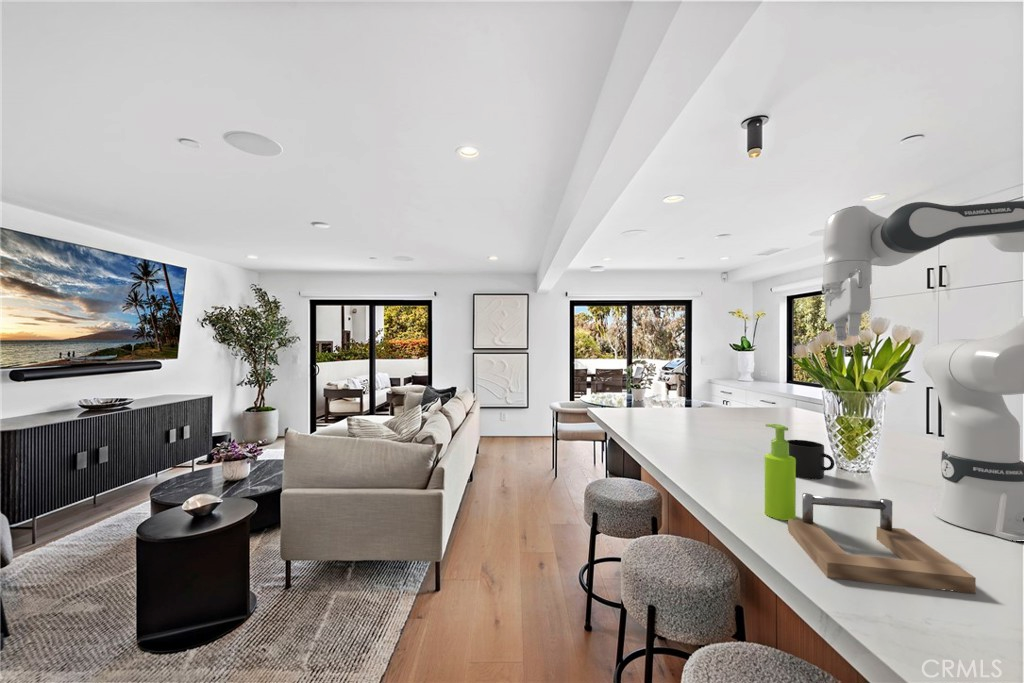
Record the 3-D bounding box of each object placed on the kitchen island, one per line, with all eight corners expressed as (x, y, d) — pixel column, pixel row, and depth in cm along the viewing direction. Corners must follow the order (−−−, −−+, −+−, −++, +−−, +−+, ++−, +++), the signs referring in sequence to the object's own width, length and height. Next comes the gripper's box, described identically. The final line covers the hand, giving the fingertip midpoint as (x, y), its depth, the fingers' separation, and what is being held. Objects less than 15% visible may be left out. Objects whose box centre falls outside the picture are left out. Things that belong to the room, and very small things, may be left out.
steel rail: (888, 527, 86) (889, 499, 86) (894, 531, 85) (894, 502, 85) (800, 519, 90) (801, 492, 90) (804, 523, 88) (804, 496, 88)
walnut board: (903, 541, 86) (903, 528, 86) (975, 593, 68) (975, 577, 68) (787, 531, 91) (787, 519, 91) (827, 577, 73) (827, 562, 73)
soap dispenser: (781, 508, 103) (781, 422, 103) (801, 520, 96) (802, 428, 96) (756, 508, 103) (756, 422, 102) (775, 521, 96) (775, 428, 95)
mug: (828, 484, 119) (828, 451, 119) (779, 473, 129) (779, 442, 128) (839, 477, 125) (839, 445, 125) (792, 467, 134) (792, 438, 134)
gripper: (880, 265, 90) (880, 332, 89) (850, 287, 109) (851, 343, 108) (842, 266, 93) (842, 332, 92) (820, 288, 111) (819, 343, 110)
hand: (846, 338), depth 100 cm, fingers open, 8 cm apart
